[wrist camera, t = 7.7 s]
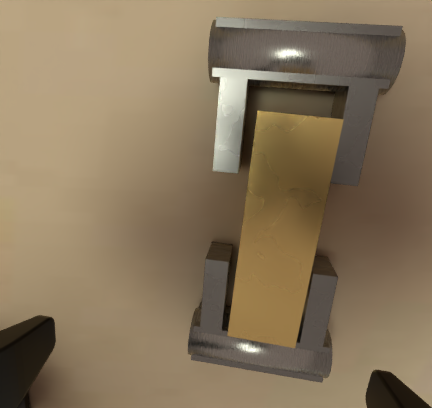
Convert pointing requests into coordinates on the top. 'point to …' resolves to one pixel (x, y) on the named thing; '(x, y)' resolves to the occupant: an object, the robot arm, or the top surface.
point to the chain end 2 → (258, 351)
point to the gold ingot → (281, 224)
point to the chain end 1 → (303, 77)
